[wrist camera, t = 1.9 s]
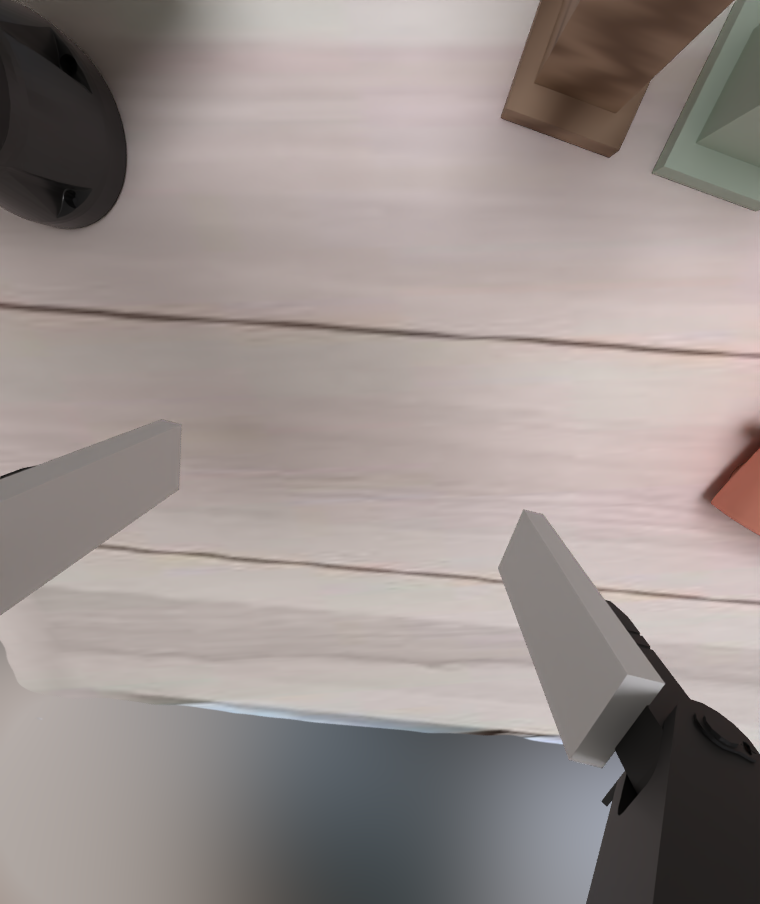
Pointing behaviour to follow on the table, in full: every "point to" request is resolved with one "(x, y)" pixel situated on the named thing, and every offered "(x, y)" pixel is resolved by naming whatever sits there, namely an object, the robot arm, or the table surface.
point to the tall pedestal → (598, 64)
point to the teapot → (742, 495)
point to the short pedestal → (722, 117)
